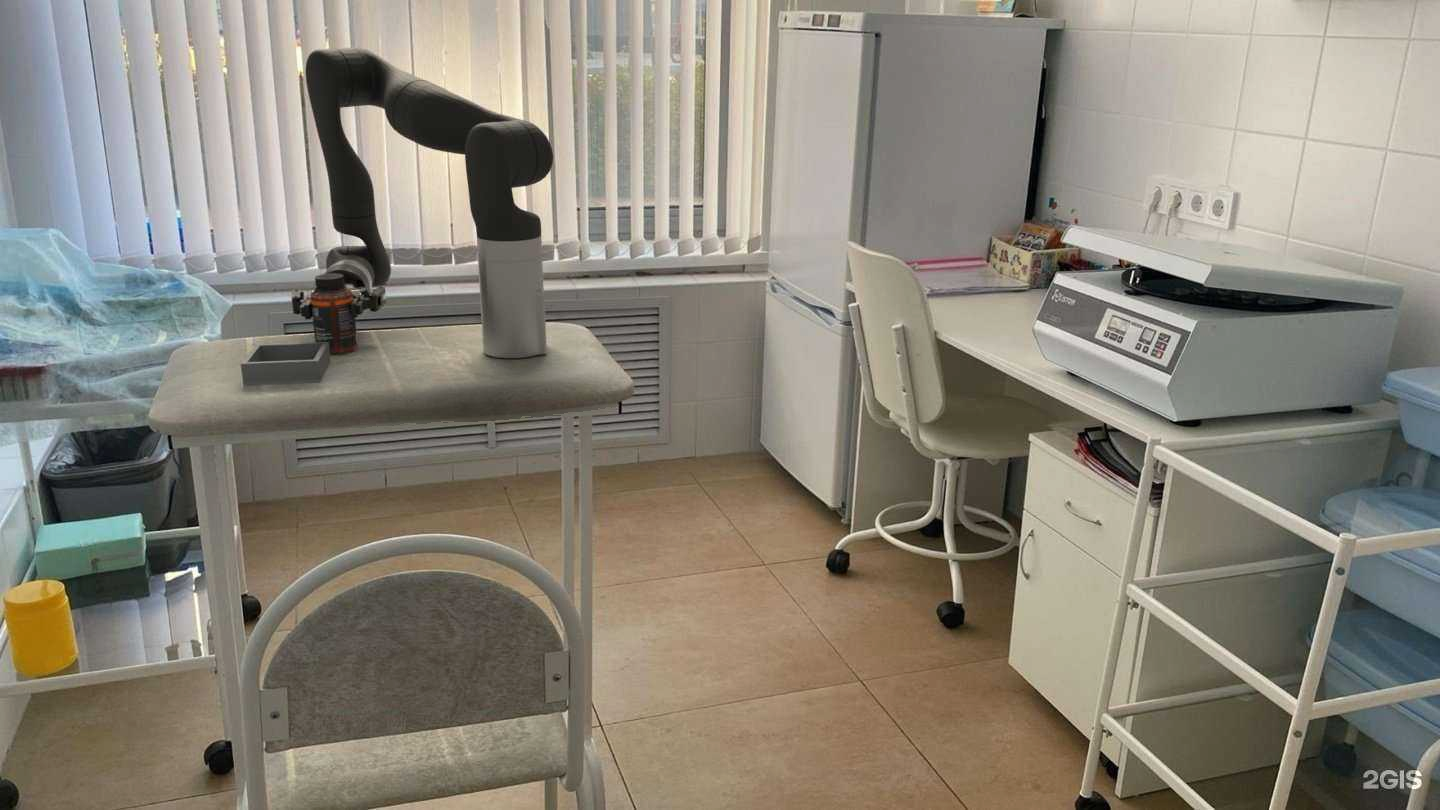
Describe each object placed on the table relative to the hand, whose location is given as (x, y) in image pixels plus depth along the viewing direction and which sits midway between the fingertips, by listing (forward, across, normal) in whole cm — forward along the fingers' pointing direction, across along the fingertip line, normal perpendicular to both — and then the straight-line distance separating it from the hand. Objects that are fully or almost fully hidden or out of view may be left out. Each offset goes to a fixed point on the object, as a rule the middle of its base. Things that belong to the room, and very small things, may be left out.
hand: (330, 311), depth 165 cm
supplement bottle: (-2, 0, +7) cm, 7 cm away
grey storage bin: (+9, -5, +6) cm, 12 cm away
